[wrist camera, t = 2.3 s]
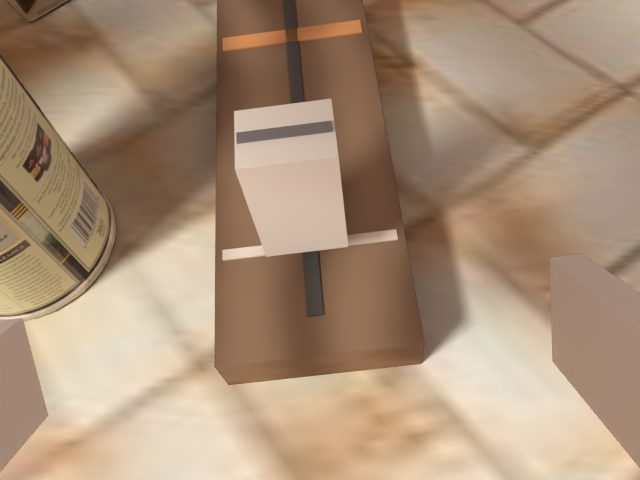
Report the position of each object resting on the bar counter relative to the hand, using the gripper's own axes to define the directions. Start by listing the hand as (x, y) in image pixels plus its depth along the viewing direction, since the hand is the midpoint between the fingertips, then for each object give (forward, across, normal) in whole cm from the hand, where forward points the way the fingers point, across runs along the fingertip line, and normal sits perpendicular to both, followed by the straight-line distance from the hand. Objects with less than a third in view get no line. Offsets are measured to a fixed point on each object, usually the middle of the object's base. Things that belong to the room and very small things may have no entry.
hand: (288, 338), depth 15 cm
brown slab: (+24, 0, +2) cm, 24 cm away
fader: (+16, 0, -2) cm, 16 cm away
